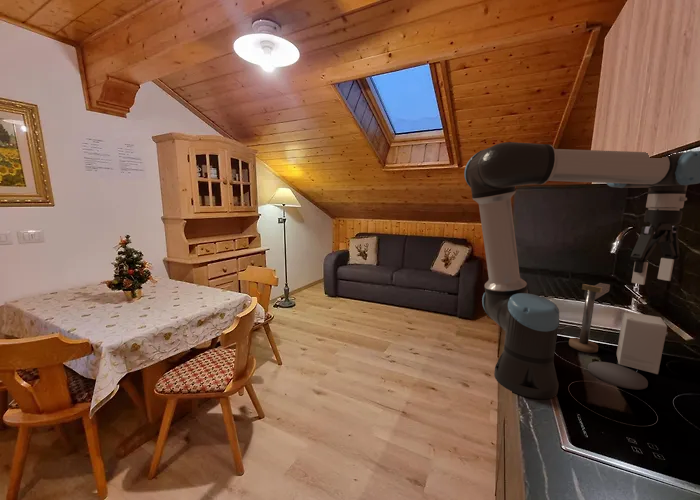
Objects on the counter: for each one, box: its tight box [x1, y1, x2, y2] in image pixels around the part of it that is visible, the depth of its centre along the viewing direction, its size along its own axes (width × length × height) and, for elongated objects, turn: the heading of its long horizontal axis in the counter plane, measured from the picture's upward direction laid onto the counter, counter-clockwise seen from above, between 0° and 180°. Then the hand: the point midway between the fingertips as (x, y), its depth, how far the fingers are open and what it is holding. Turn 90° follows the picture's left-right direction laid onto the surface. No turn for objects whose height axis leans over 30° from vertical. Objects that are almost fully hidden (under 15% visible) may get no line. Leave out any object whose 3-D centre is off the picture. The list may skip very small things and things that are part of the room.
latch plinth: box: [568, 337, 599, 354], centre depth 105 cm, size 8×8×2 cm
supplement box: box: [616, 310, 668, 375], centre depth 94 cm, size 9×9×15 cm
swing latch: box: [579, 282, 611, 344], centre depth 108 cm, size 17×5×20 cm, turn 128°
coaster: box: [587, 361, 649, 391], centre depth 88 cm, size 13×13×1 cm
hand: (651, 281), depth 91 cm, fingers open, 13 cm apart
